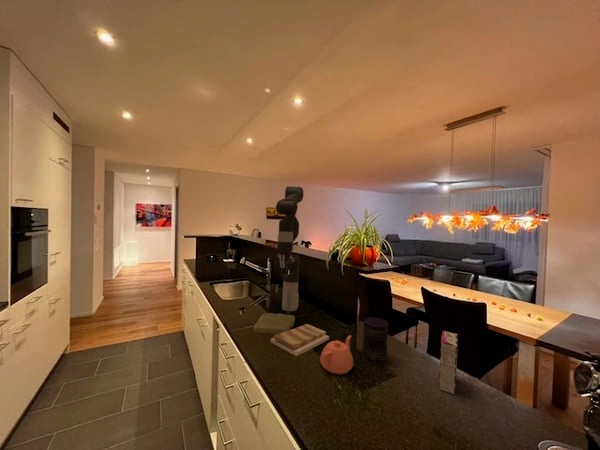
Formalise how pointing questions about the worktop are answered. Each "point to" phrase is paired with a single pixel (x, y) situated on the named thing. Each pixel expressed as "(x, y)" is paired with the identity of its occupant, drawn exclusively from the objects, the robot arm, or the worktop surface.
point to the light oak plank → (313, 330)
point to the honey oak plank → (295, 338)
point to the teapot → (337, 357)
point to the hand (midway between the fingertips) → (283, 275)
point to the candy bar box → (448, 362)
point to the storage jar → (375, 340)
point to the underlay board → (302, 348)
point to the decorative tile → (274, 323)
